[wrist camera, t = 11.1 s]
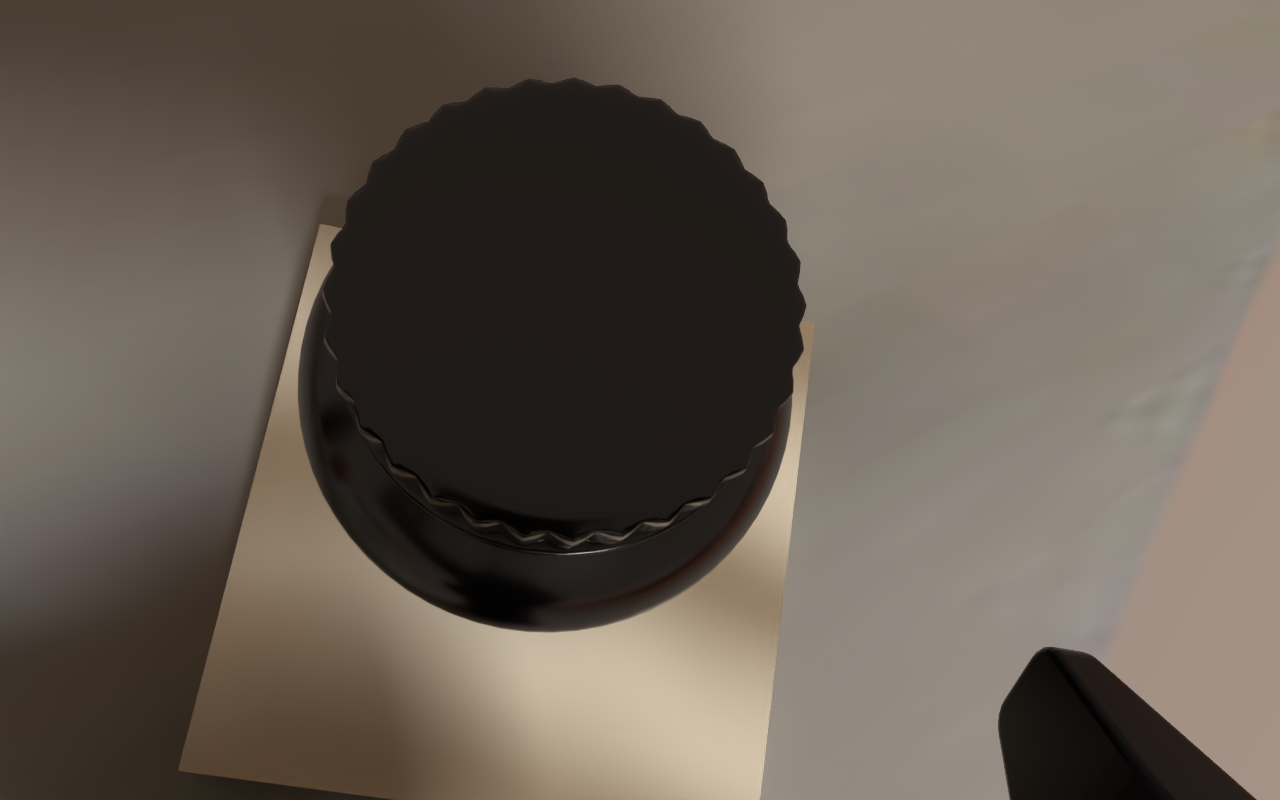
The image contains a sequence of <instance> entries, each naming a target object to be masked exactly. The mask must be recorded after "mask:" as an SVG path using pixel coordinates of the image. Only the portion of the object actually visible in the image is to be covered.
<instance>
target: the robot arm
mask: <svg viewBox="0 0 1280 800" xmlns="http://www.w3.org/2000/svg"><path fill="white" fill-rule="evenodd" d="M998 731H999V738H1000V744H1001V750H1002V756H1003V762H1004V768H1005V774H1006V780H1007V786H1008V792H1009V798H1010V800H1256V799H1255V798H1254V797H1253V796H1252V795H1251V794H1250V793H1248V792H1247V791H1246V790H1245V789H1244V788H1243V787H1241V786H1240V785H1239V784H1238V783H1237V782H1236V781H1235V780H1234V779H1232V778H1231V777H1230V776H1229V775H1228V774H1227V773H1226V772H1225V771H1223V770H1222V769H1221V768H1220V767H1219V766H1218V765H1217V764H1215V763H1214V762H1213V761H1212V760H1211V759H1210V758H1209V757H1207V756H1206V755H1205V754H1204V753H1203V752H1202V751H1201V750H1200V749H1198V748H1197V747H1196V746H1195V745H1194V744H1193V743H1192V742H1190V741H1189V740H1188V739H1187V738H1186V737H1185V736H1184V735H1183V734H1181V733H1180V732H1179V731H1178V730H1177V729H1176V728H1174V727H1173V726H1172V725H1171V724H1170V723H1169V722H1167V720H1165V719H1164V718H1163V717H1162V716H1161V715H1160V714H1159V713H1158V712H1156V711H1155V710H1154V709H1153V708H1152V707H1151V706H1150V705H1148V704H1147V703H1146V702H1145V701H1144V700H1143V699H1142V698H1141V697H1139V696H1138V695H1137V694H1136V693H1135V692H1134V691H1133V690H1131V689H1130V688H1129V687H1128V686H1127V685H1126V684H1125V683H1123V682H1122V681H1121V680H1120V679H1119V678H1118V677H1117V676H1116V675H1114V674H1113V673H1112V672H1111V671H1110V670H1109V669H1108V668H1106V667H1105V666H1104V665H1103V664H1102V663H1101V662H1100V661H1099V660H1097V659H1096V658H1095V657H1093V656H1091V655H1090V654H1087V653H1084V652H1080V651H1074V650H1068V649H1062V648H1056V647H1045V648H1043V649H1041V650H1039V651H1038V652H1036V653H1035V655H1034V656H1033V657H1032V659H1031V660H1030V662H1029V663H1028V665H1027V666H1026V668H1025V669H1024V671H1023V672H1022V674H1021V675H1020V677H1019V679H1018V680H1017V682H1016V683H1015V685H1014V686H1013V688H1012V689H1011V691H1010V692H1009V694H1008V695H1007V697H1006V699H1005V700H1004V702H1003V704H1002V706H1001V710H1000V713H999V719H998Z"/></svg>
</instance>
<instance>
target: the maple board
mask: <svg viewBox="0 0 1280 800" xmlns="http://www.w3.org/2000/svg"><path fill="white" fill-rule="evenodd" d="M341 230H342V228H339V227H334V226H329V225H324V224H320V226H319V230H318V234H317V238H316V241H315V245H314V249H313V253H312V257H311V261H310V264H309V268H308V272H307V276H306V280H305V284H304V288H303V291H302V295H301V299H300V303H299V307H298V311H297V314H296V318H295V322H294V326H293V330H292V334H291V337H290V341H289V345H288V349H287V353H286V357H285V361H284V364H283V368H282V372H281V376H280V380H279V384H278V387H277V391H276V395H275V399H274V403H273V407H272V411H271V414H270V418H269V422H268V426H267V430H266V434H265V437H264V441H263V445H262V449H261V453H260V457H259V460H258V464H257V468H256V472H255V476H254V480H253V484H252V487H251V491H250V495H249V499H248V503H247V507H246V510H245V514H244V518H243V522H242V526H241V530H240V534H239V537H238V541H237V545H236V549H235V553H234V557H233V560H232V564H231V568H230V572H229V576H228V580H227V583H226V587H225V591H224V595H223V599H222V603H221V607H220V610H219V614H218V618H217V622H216V626H215V630H214V633H213V637H212V641H211V645H210V649H209V653H208V657H207V660H206V664H205V668H204V672H203V676H202V680H201V683H200V687H199V691H198V695H197V699H196V703H195V706H194V710H193V714H192V718H191V722H190V726H189V730H188V733H187V737H186V741H185V745H184V749H183V753H182V756H181V760H180V764H179V768H178V771H183V772H190V773H197V774H205V775H212V776H220V777H227V778H235V779H242V780H250V781H257V782H265V783H272V784H280V785H287V786H295V787H302V788H309V789H317V790H324V791H332V792H339V793H347V794H354V795H362V796H369V797H377V798H384V799H392V800H760V794H761V785H762V777H763V768H764V759H765V751H766V742H767V733H768V725H769V716H770V707H771V699H772V690H773V681H774V673H775V664H776V655H777V647H778V638H779V630H780V621H781V612H782V604H783V595H784V586H785V578H786V569H787V560H788V552H789V543H790V534H791V526H792V517H793V509H794V500H795V491H796V483H797V474H798V465H799V457H800V448H801V439H802V431H803V422H804V413H805V405H806V396H807V387H808V379H809V370H810V362H811V353H812V344H813V336H814V327H815V323H811V322H806V321H801V323H800V325H799V327H800V331H801V334H802V339H803V345H804V351H803V353H802V355H801V357H800V359H799V360H798V362H797V363H796V364H795V366H794V367H793V379H794V388H793V394H792V411H791V421H790V429H789V434H788V439H787V444H786V449H785V453H784V456H783V459H782V463H781V466H780V469H779V472H778V475H777V477H776V480H775V482H774V485H773V487H772V489H771V492H770V494H769V496H768V498H767V500H766V502H765V504H764V506H763V507H762V509H761V511H760V513H759V515H758V517H757V518H756V519H755V521H754V522H753V524H752V525H751V527H750V528H749V530H748V531H747V533H746V534H745V536H744V537H743V538H742V539H741V541H740V542H739V543H738V544H737V545H736V547H735V548H734V549H733V550H732V551H731V553H730V554H729V555H728V556H727V557H726V558H725V559H724V560H723V561H722V562H721V563H720V564H719V565H718V566H716V567H715V568H714V569H713V570H712V571H711V572H710V573H709V574H707V575H706V576H705V577H704V578H702V579H701V580H700V581H699V582H697V583H696V584H695V585H694V586H692V587H691V588H689V589H688V590H686V591H685V592H683V593H681V594H680V595H678V596H677V597H675V598H674V599H672V600H670V601H668V602H666V603H664V604H662V605H660V606H658V607H656V608H655V609H653V610H651V611H648V612H645V613H643V614H640V615H638V616H635V617H633V618H630V619H628V620H624V621H621V622H617V623H613V624H610V625H606V626H602V627H597V628H591V629H585V630H580V631H569V632H555V633H544V632H523V631H515V630H508V629H501V628H497V627H492V626H488V625H484V624H480V623H476V622H473V621H470V620H467V619H464V618H461V617H458V616H456V615H453V614H451V613H448V612H446V611H444V610H442V609H440V608H438V607H435V606H433V605H431V604H429V603H427V602H426V601H424V600H422V599H421V598H419V597H417V596H416V595H414V594H412V593H411V592H409V591H407V590H406V589H405V588H403V587H402V586H401V585H399V584H398V583H397V582H395V581H394V580H393V579H391V578H390V577H389V576H387V575H386V574H385V573H384V572H383V571H381V570H380V569H379V568H378V567H377V566H376V565H375V564H374V563H373V562H372V561H371V560H370V559H368V558H367V557H366V556H365V554H364V553H363V552H362V551H361V550H360V549H359V548H358V546H357V545H356V544H355V543H354V542H353V541H352V540H351V539H350V537H349V536H348V535H347V533H346V532H345V530H344V529H343V528H342V526H341V525H340V523H339V522H338V520H337V519H336V518H335V516H334V514H333V513H332V511H331V509H330V507H329V505H328V504H327V502H326V500H325V498H324V497H323V495H322V493H321V490H320V488H319V486H318V483H317V481H316V479H315V476H314V474H313V472H312V469H311V466H310V462H309V459H308V456H307V453H306V450H305V446H304V441H303V436H302V431H301V426H300V418H299V407H298V369H299V361H300V352H301V346H302V341H303V337H304V332H305V328H306V324H307V321H308V318H309V315H310V312H311V309H312V306H313V303H314V300H315V298H316V296H317V294H318V292H319V289H320V287H321V285H322V283H323V281H324V279H325V277H326V275H327V273H328V272H329V270H330V268H331V267H332V265H333V262H332V259H331V249H330V245H331V242H332V241H333V239H334V238H335V236H336V235H337V233H338V232H339V231H341Z"/></svg>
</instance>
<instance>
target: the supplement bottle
mask: <svg viewBox="0 0 1280 800" xmlns="http://www.w3.org/2000/svg"><path fill="white" fill-rule="evenodd" d="M330 249H331V259H332V262H333V265H332V267H331V268H330V270H329V272H328V273H327V275H326V277H325V279H324V281H323V283H322V285H321V287H320V289H319V292H318V294H317V296H316V298H315V300H314V303H313V306H312V309H311V312H310V315H309V318H308V321H307V324H306V328H305V332H304V337H303V341H302V346H301V352H300V361H299V369H298V407H299V418H300V426H301V431H302V436H303V441H304V446H305V450H306V453H307V456H308V459H309V462H310V466H311V469H312V472H313V474H314V476H315V479H316V481H317V483H318V486H319V488H320V490H321V493H322V495H323V497H324V498H325V500H326V502H327V504H328V505H329V507H330V509H331V511H332V513H333V514H334V516H335V518H336V519H337V520H338V522H339V523H340V525H341V526H342V528H343V529H344V530H345V532H346V533H347V535H348V536H349V537H350V539H351V540H352V541H353V542H354V543H355V544H356V545H357V546H358V548H359V549H360V550H361V551H362V552H363V553H364V554H365V556H366V557H367V558H368V559H370V560H371V561H372V562H373V563H374V564H375V565H376V566H377V567H378V568H379V569H380V570H381V571H383V572H384V573H385V574H386V575H387V576H389V577H390V578H391V579H393V580H394V581H395V582H397V583H398V584H399V585H401V586H402V587H403V588H405V589H406V590H407V591H409V592H411V593H412V594H414V595H416V596H417V597H419V598H421V599H422V600H424V601H426V602H427V603H429V604H431V605H433V606H435V607H438V608H440V609H442V610H444V611H446V612H448V613H451V614H453V615H456V616H458V617H461V618H464V619H467V620H470V621H473V622H476V623H480V624H484V625H488V626H492V627H497V628H501V629H508V630H515V631H523V632H544V633H555V632H569V631H580V630H585V629H591V628H597V627H602V626H606V625H610V624H613V623H617V622H621V621H624V620H628V619H630V618H633V617H635V616H638V615H640V614H643V613H645V612H648V611H651V610H653V609H655V608H656V607H658V606H660V605H662V604H664V603H666V602H668V601H670V600H672V599H674V598H675V597H677V596H678V595H680V594H681V593H683V592H685V591H686V590H688V589H689V588H691V587H692V586H694V585H695V584H696V583H697V582H699V581H700V580H701V579H702V578H704V577H705V576H706V575H707V574H709V573H710V572H711V571H712V570H713V569H714V568H715V567H716V566H718V565H719V564H720V563H721V562H722V561H723V560H724V559H725V558H726V557H727V556H728V555H729V554H730V553H731V551H732V550H733V549H734V548H735V547H736V545H737V544H738V543H739V542H740V541H741V539H742V538H743V537H744V536H745V534H746V533H747V531H748V530H749V528H750V527H751V525H752V524H753V522H754V521H755V519H756V518H757V517H758V515H759V513H760V511H761V509H762V507H763V506H764V504H765V502H766V500H767V498H768V496H769V494H770V492H771V489H772V487H773V485H774V482H775V480H776V477H777V475H778V472H779V469H780V466H781V463H782V459H783V456H784V453H785V449H786V444H787V439H788V434H789V429H790V421H791V411H792V394H793V388H794V379H793V367H794V366H795V364H796V363H797V362H798V360H799V359H800V357H801V355H802V353H803V351H804V345H803V339H802V334H801V331H800V327H799V325H800V323H801V320H802V318H803V316H804V312H805V309H806V303H805V300H804V297H803V294H802V292H801V291H800V289H799V286H798V279H799V274H800V263H801V262H800V260H799V258H798V257H797V255H796V253H795V252H794V251H793V249H792V248H791V247H790V245H789V243H788V240H787V225H786V220H785V219H784V218H783V217H782V216H781V214H780V213H779V212H778V211H777V210H776V209H775V208H774V207H773V206H772V205H770V204H769V201H768V197H767V192H766V189H765V186H764V183H763V182H762V181H760V180H759V179H758V178H757V177H755V176H754V175H753V174H751V173H750V172H748V171H747V170H745V169H744V167H743V165H742V162H741V160H740V158H739V156H738V155H737V153H736V151H735V150H734V149H733V148H731V147H729V146H727V145H726V144H724V143H721V142H719V141H717V140H715V139H713V138H712V136H711V135H710V134H709V132H708V130H707V129H706V128H705V126H704V125H703V124H702V123H701V122H700V121H698V120H695V119H692V118H689V117H685V116H681V115H678V114H677V113H675V112H674V111H673V110H672V109H671V107H670V106H668V105H667V104H666V103H665V102H664V101H662V100H661V99H654V98H645V97H638V96H636V95H634V94H632V93H631V92H630V91H629V90H627V89H626V88H624V87H622V86H620V85H604V86H594V85H592V84H590V83H587V82H585V81H582V80H579V79H577V78H571V79H567V80H562V81H559V82H556V83H547V82H543V81H540V80H534V79H528V80H525V81H523V82H521V83H518V84H517V85H515V86H513V87H511V88H504V89H501V88H484V89H483V90H481V91H480V92H478V93H477V94H475V95H474V96H473V97H472V98H471V99H469V100H468V101H466V102H461V103H451V104H446V105H443V106H442V107H441V108H440V109H439V110H438V111H437V112H436V113H435V114H434V115H433V117H432V118H431V119H430V120H429V122H426V123H423V124H420V125H416V126H414V127H411V128H409V129H406V130H405V131H404V133H403V134H402V136H401V137H400V139H399V141H398V143H397V145H396V147H395V149H394V150H393V151H391V152H390V153H388V154H386V155H383V156H382V157H380V158H379V159H377V160H375V161H374V162H373V163H372V166H371V169H370V171H369V175H368V179H367V183H366V184H365V185H364V186H363V187H362V188H360V189H359V190H358V191H357V192H356V193H355V194H354V195H353V196H352V197H351V198H350V199H349V200H348V201H347V208H346V224H345V225H344V227H343V228H342V230H341V231H339V232H338V233H337V235H336V236H335V238H334V239H333V241H332V242H331V245H330Z"/></svg>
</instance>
